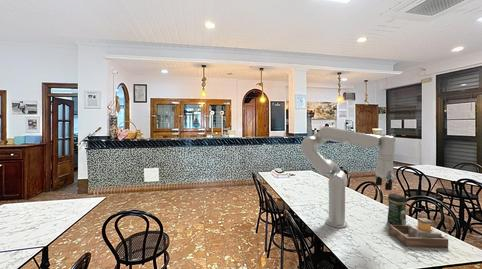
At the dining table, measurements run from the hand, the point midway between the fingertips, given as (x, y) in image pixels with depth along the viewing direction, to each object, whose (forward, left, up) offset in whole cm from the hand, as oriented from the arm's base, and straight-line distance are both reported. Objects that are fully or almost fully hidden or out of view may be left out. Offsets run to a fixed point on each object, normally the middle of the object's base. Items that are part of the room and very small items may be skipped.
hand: (383, 187), depth 132 cm
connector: (+7, +18, -25) cm, 32 cm away
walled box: (+7, +14, -26) cm, 31 cm away
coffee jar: (-14, +16, -27) cm, 34 cm away
